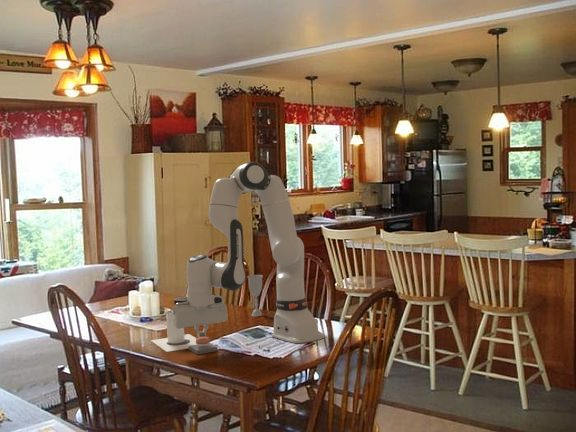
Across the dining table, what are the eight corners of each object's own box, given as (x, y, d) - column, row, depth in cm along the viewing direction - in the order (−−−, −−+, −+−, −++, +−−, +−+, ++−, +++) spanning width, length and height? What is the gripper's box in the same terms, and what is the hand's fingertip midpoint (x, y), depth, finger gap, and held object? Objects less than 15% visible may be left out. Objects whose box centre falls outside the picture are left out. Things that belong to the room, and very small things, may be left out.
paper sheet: (207, 345, 242) (207, 343, 242) (166, 352, 234) (166, 351, 234) (188, 334, 259) (188, 333, 259) (150, 341, 251) (150, 340, 251)
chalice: (261, 312, 294) (259, 274, 293) (267, 315, 288) (265, 276, 287) (246, 314, 291) (244, 276, 290) (252, 317, 285) (250, 277, 284)
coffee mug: (181, 323, 279) (179, 301, 278) (171, 320, 286) (170, 299, 285) (203, 319, 286) (202, 297, 286) (194, 316, 293) (192, 295, 292)
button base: (217, 350, 233) (217, 346, 233) (196, 354, 229) (196, 350, 229) (209, 346, 240) (209, 342, 240) (189, 349, 236) (189, 345, 236)
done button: (211, 342, 233) (211, 338, 233) (198, 345, 231) (198, 341, 231) (206, 340, 238) (206, 336, 238) (194, 342, 235) (193, 338, 235)
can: (181, 344, 243) (179, 313, 242) (165, 344, 244) (163, 313, 243) (187, 339, 249) (185, 309, 248) (171, 339, 250) (169, 309, 250)
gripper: (175, 304, 226) (177, 343, 227) (228, 297, 235) (230, 334, 236) (169, 302, 231) (171, 339, 232) (221, 295, 241) (223, 330, 242)
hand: (201, 336), depth 234 cm, fingers closed
